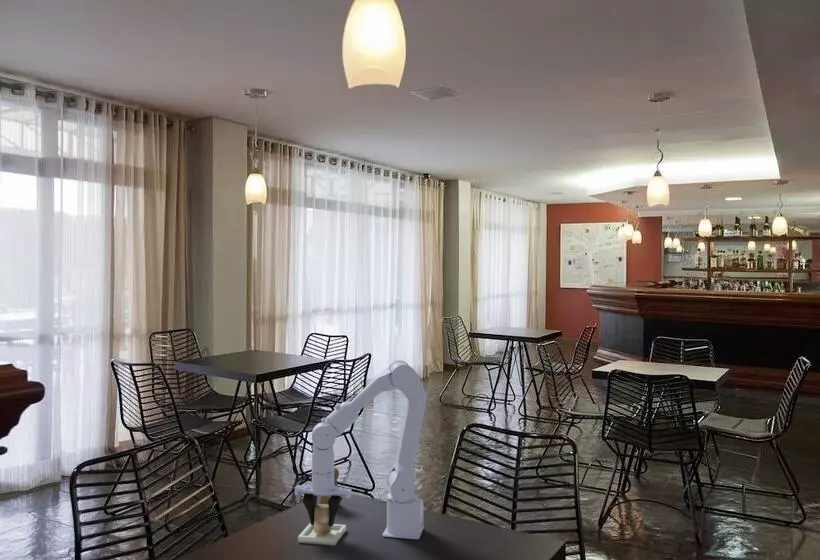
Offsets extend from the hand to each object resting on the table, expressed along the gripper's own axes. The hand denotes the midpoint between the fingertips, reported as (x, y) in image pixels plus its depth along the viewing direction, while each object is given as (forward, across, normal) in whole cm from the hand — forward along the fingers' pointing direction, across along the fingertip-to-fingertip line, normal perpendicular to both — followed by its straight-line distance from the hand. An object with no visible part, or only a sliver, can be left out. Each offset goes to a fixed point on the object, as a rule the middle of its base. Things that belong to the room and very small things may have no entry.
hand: (322, 524), depth 162 cm
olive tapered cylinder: (+3, +5, -22) cm, 22 cm away
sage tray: (+3, 0, 0) cm, 3 cm away
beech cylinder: (+2, 0, 0) cm, 2 cm away
